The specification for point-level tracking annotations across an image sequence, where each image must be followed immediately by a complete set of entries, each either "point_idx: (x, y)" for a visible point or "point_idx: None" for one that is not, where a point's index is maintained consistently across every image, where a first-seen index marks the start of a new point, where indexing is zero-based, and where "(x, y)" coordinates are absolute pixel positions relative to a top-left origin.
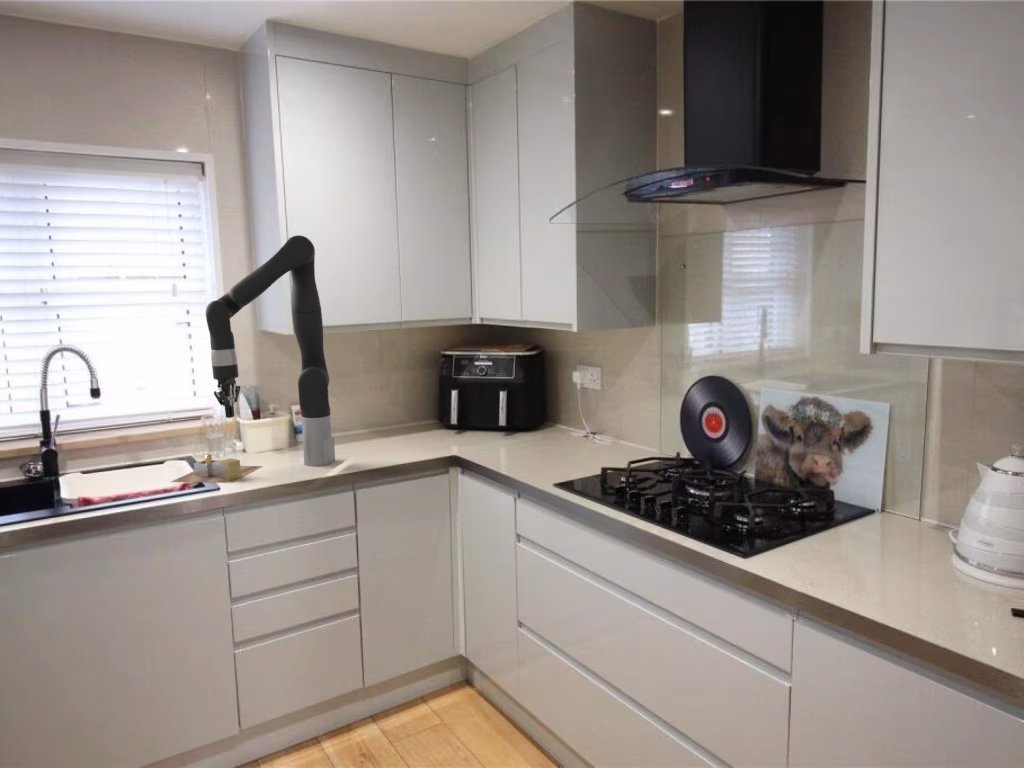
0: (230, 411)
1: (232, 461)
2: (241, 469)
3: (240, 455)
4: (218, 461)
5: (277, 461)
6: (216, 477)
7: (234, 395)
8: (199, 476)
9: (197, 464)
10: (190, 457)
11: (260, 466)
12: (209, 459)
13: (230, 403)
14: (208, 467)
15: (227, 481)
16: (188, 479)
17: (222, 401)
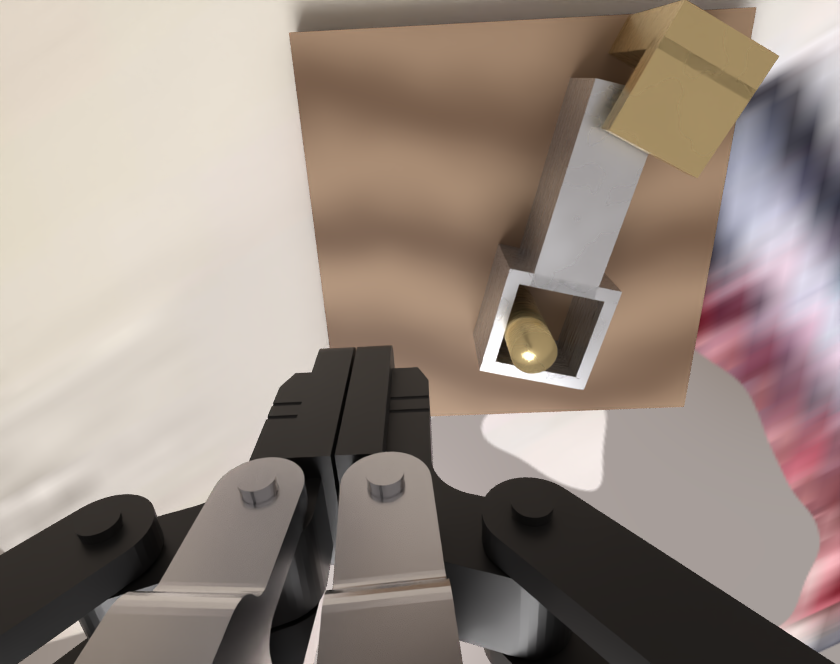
0: (390, 410)
1: (733, 42)
2: (401, 150)
3: (3, 400)
4: (517, 269)
5: (39, 68)
6: None
7: (172, 641)
8: None
9: (591, 363)
10: None
11: (301, 49)
12: (543, 324)
13: (416, 493)
14: (603, 281)
15: None
16: (642, 343)
17: (545, 650)
